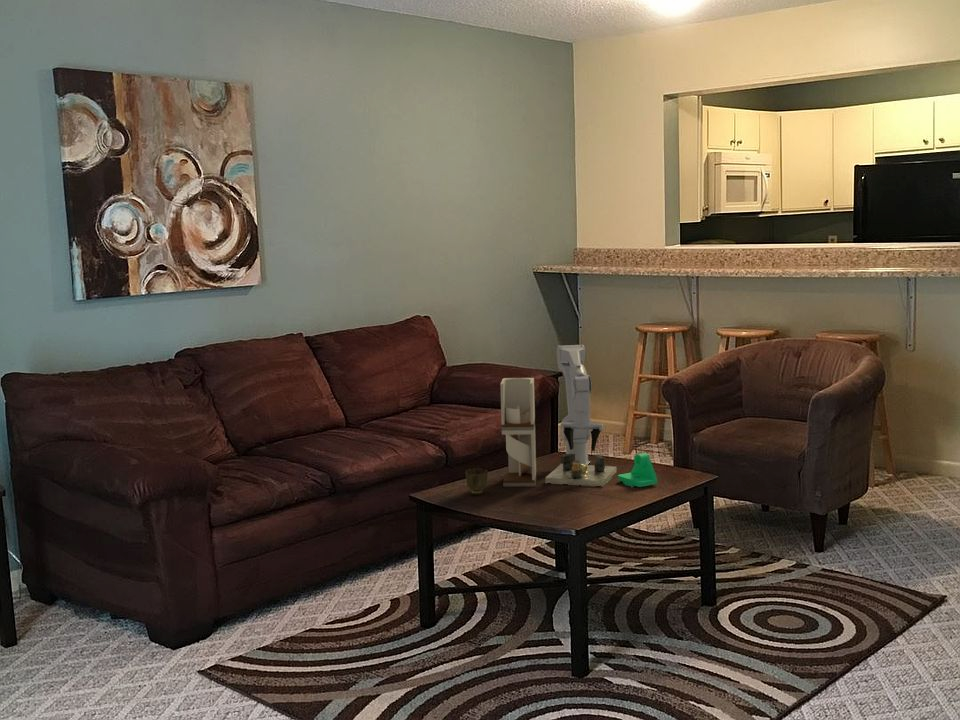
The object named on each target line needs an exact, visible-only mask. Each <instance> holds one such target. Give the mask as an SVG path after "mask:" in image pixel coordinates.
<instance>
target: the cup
mask: <svg viewBox="0 0 960 720" xmlns="http://www.w3.org/2000/svg"><path fill="white" fill-rule="evenodd" d="M488 471H489V469H487V468H485V469H484V470H483V467H482V468H480V467H477V468H475V467H473V469H471V468H469V469H465V471H464V472H465V479H466V485H467V487H468V488H469V490H471V494H472V495H473V494H474V495H473V496H480V494H481V495H482V494H483V492H484V491H483V490H484V489H486V486H487V483H488Z"/></svg>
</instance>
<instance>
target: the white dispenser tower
mask: <svg viewBox="0 0 960 720" xmlns="http://www.w3.org/2000/svg"><path fill="white" fill-rule="evenodd" d="M499 384H500V412H501V413H500V417H501V419H500V421H501V422H500V423H501V436H502V435H503V436H504V435H505V446H506V447H505V450H506V453H507V454H508V455H507V458H508V459H507V460H508V462H507V463H508V471H505V473H504V477H503V481H502V484H503V485H502V487H536V482H537V454H536V453H537V450H536V449H537V448H536V447H537V446H536V444H537V443H536V408H535V407H536V406H535V405H536V404H535V400H536V399H535V377H504V378H502V380H501V381H500V383H499Z"/></svg>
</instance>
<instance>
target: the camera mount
mask: <svg viewBox="0 0 960 720" xmlns="http://www.w3.org/2000/svg"><path fill="white" fill-rule="evenodd" d="M633 462H634V464H633V468H632V470H631V471H630V472H628V473H622V474H618V475H617V480H618V481H620V482H622V484H625V485H624V486H626V485H628V487H629V486H631V487H630V488H635V487H634V486H637V487H639V488H642V487H647V486H651V485H656V484H658V477H657V474H656V472H655V469H654V466H653V463H652V461H651V458H650V456H649V454H648V453H646V452H642V453H637V454H635V455H634V457H633Z"/></svg>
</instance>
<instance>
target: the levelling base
mask: <svg viewBox="0 0 960 720" xmlns="http://www.w3.org/2000/svg"><path fill="white" fill-rule="evenodd" d="M573 461H575V454H572V453H571V454H567V455H566V454H564V455H560V464H559V465H558V466H557V467H556V468H555V469H554V470H552V471H550V473H548V475H546V476H545V478H544V479H545V480H544V481H545V482H544V483H545V484H547V483H551V484H550V485H563V484H568V486H579V485H581V486H582V487H596V486H601V488H604V487H605V486H606V485H607V484H608V482H609V481H611V480H612V478H613V477H614V476H615V475H614V474H615V473H616V474H617V472H618V471H617V468H618V467H617V466H611V465H606V463H605V457H603V456H602V455H600V454H595V456H594V462H595V463H593V464H594V465H593V464H591V465H590V464H589V465H587V464H580V468H581V469H582V477H580V478H573V477H571V469H572V468H573ZM613 475H614V476H613ZM612 476H613V477H612ZM606 483H607V484H606ZM605 484H606V485H605ZM604 485H605V486H604Z"/></svg>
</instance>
